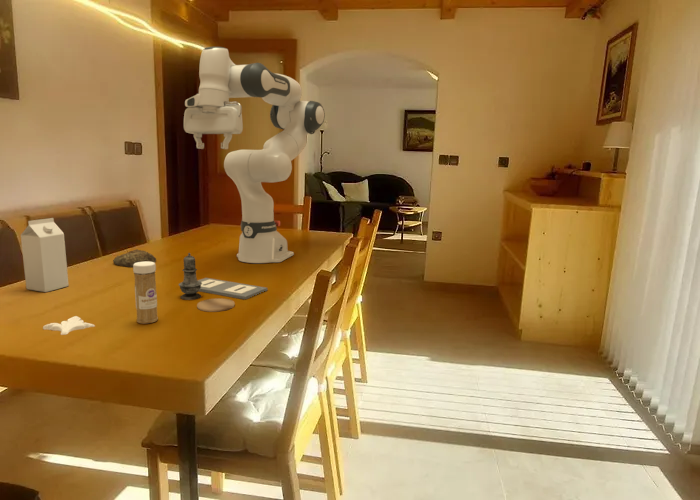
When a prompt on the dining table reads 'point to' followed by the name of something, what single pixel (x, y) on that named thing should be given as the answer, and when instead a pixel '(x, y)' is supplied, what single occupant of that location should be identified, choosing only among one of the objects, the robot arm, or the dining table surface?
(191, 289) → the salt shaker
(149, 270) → the sprinkles bottle
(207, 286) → the label board
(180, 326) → the dining table surface
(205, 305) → the coaster
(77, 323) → the acanthus leaf ornament
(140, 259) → the bread roll
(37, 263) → the milk carton
